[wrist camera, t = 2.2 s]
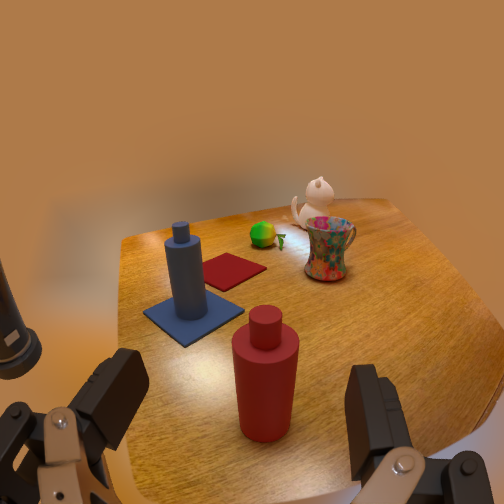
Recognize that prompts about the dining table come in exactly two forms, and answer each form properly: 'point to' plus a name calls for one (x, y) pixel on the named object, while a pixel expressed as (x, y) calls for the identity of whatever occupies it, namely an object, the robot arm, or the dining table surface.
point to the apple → (264, 235)
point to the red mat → (229, 271)
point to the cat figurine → (314, 201)
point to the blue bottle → (186, 272)
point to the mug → (328, 246)
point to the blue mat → (193, 329)
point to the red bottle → (265, 373)
